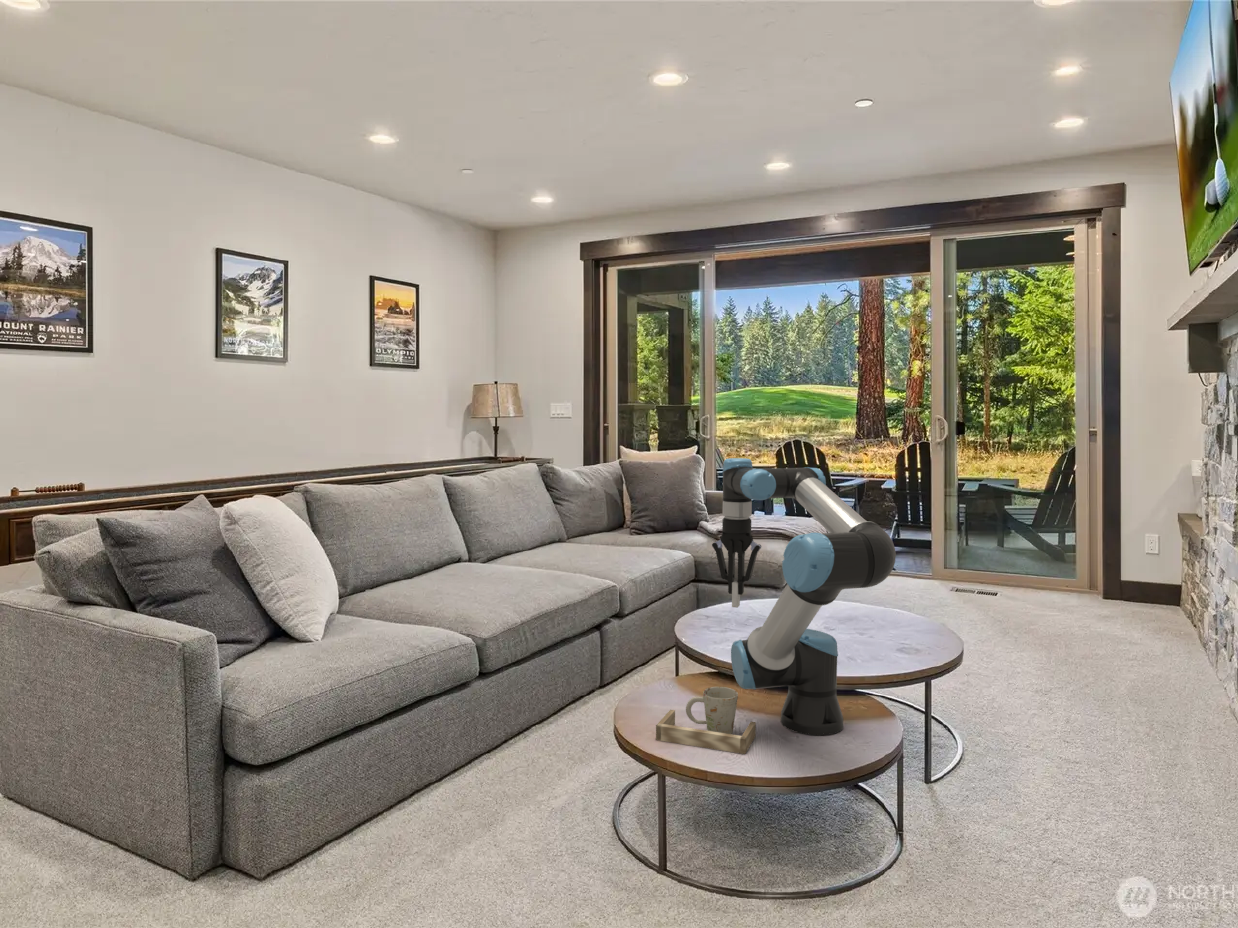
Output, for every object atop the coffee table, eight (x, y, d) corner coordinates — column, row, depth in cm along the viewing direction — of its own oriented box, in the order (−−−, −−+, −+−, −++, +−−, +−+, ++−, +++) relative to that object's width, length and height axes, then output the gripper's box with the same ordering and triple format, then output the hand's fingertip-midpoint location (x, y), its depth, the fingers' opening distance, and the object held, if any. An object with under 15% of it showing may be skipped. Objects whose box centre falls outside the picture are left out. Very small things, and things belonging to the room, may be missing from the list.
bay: (755, 736, 194) (755, 721, 194) (745, 754, 184) (745, 739, 184) (670, 723, 202) (670, 709, 202) (655, 739, 192) (656, 725, 191)
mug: (736, 741, 191) (736, 699, 190) (683, 736, 194) (683, 695, 193) (738, 727, 199) (738, 687, 198) (687, 723, 202) (687, 684, 201)
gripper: (764, 516, 213) (763, 605, 215) (716, 514, 218) (715, 601, 219) (758, 520, 206) (757, 611, 208) (708, 517, 211) (708, 607, 212)
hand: (735, 606), depth 213 cm, fingers closed
